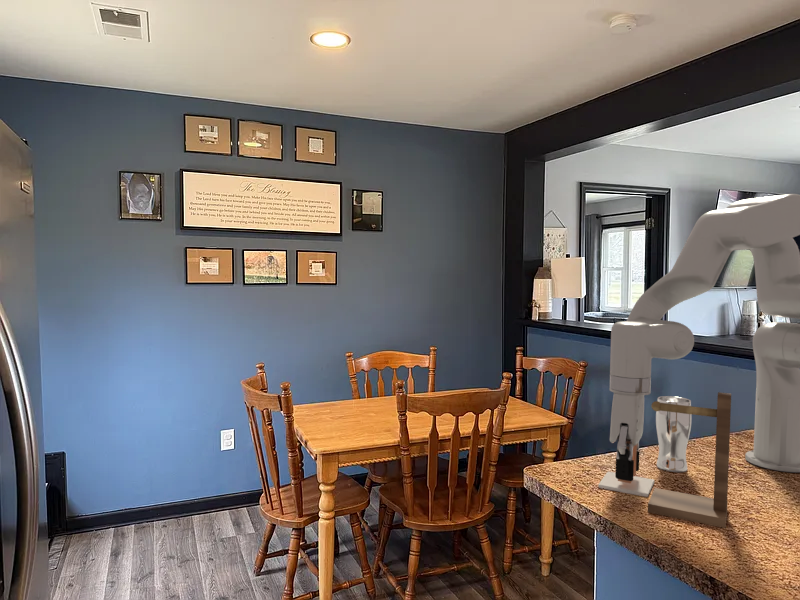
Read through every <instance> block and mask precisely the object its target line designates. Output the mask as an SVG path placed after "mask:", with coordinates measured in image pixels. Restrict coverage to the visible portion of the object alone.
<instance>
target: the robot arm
mask: <svg viewBox="0 0 800 600" xmlns="http://www.w3.org/2000/svg"><path fill="white" fill-rule="evenodd" d="M798 236H800V194H798V193H785V194H777V195H771V196H761V197H754V198H753V197H751V198H746V199H741V200H737V201H735V202H732V203H730V204H729V205H728V206H727V207H726V208H724V209H723V208H722V209H715V210H710V211H708V212H705V213H704V214H702V215H700V217H698V219H697V220H696V222H695V224H694V226H693V227H692V229H691V231H690V234H689V236H688V237H687V238H686V241H685V243H684V245H683V248H682V249H681V251H680V253H679V255H678V257H677V259H676V261H675V262H674V265H673V266H672V268H671V269H670V270H669V272H668V273H666V274H665V275H663V276H662V277H661V278H660V279H658V280H657V281H656V282H654V284H652V285H651V286H650V287H649V288H648V289H646V290H645V291H644V292H643V293H642V294H641V296H639V298H638V299H637V301H636V302H635V304H634V306H633V307H632V309H631V311H630V313H629V315H628V317H627V318H626V321H625V320H624V321H617V322H615V323H613V324H612V326H611V328H610V329H611V330H610V331H611V332H610V355H609V356H610V360H609V363H610V364H609V365H610V366H609V391H610V392H611V393H613V396H612V404H611V405H612V406H611V415H610V429H609V442H610V443H611V444H614V443H615V442H617V447H616V456H615V457H616V458H615V473H616V475H615V477H616V478H617V479H621V480H627V481H633V474H634V460H632V456H633V446H635V445H636V444H637V454H636V472H639V470H640V451H639V449H640V440H641V439H642V437H643V432H644V423H645V422H644V420H645V419H644V418H645V396H649V395H650V394H651V390H652V389H651V385H652V381H651V380H652V377H651V376H652V359H654V358H655V359H664V360H665V359H666V360H678V359H681V358H682V359H683V358H684V357H686V356H687V355H688V354H690V353H691V351H692V350H693V347H695V346H694V345H695V336H694V334H693V331H692V330H691V329H690V328H689V327H688V326H687V325H685V324H683V323H681V322H678V321H673V320H663V317H664V315H666V314H667V312H668V311H669V310H671V309H672V308H674V307H676V306H677V305H679V304H680V303H683V302H686V301H688V300H690V299H694V298H695V297H697V296H700V295H702V294H705V293H706V292H709V291H710V290H712V289H713V288H714V287H715V285H716V283H717V281H718V279H719V277H720V275H721V273H722V271H723V269H724V266H725V265H726V263H727V261H728V259H729V257H730V255H731V253H732V252H734V251H745V250H750V253H751V256H752V258H753V263H754V265H753V266H754V274H755V286H756V287H755V289H756V297H757V299H756V300H757V304H758V308H759V310H760V311H761V312H762V313H764V314H765V315H768V316H772V317H778V318H787V319H788V318H789V319H800V249H799V246H798V244H797V243H796V242H797V241H796V240H795V239H794V238H795V237H798ZM752 337H753V338H752V350H753V356H754V362H755V372H756V373H755V374H756V376H755V377H756V379H755V380H756V381H755V382H756V385H755V386H756V387H755V388H756V389H755V405H754V406H755V409H754V411H755V412H754V429H753V431H754V434H753V450H750V451H749V450H748V451H746V452H745V454H744V455H745V457H744V458H745V460H746V461H747V462H749V463H751V464H752V465H755V466H757V467H761V468H764V469H768V470H772V471H779V472H787V473H800V322H799V323H797V322H786V321H773V322H767V323H765V324H762V325H760V326H759V327H758V328H757V329H756V330H755V332H754V334H753V336H752ZM627 441H631V444H628V443H626V442H627ZM626 447H629V451H628V449H626Z"/></svg>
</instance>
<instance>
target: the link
mask: <svg viewBox="0 0 800 600" xmlns="http://www.w3.org/2000/svg"><path fill="white" fill-rule="evenodd" d="M626 443H628V444H631V441H627V442H626ZM626 449H628V451H629V447H626ZM636 454H637V444H636V445H635V446H633V456H632V460H634V474H633V476H637V471H636ZM618 481H620V482H626V483H631V482H632V481H627V480H621V479H618Z"/></svg>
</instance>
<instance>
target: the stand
mask: <svg viewBox="0 0 800 600" xmlns="http://www.w3.org/2000/svg"><path fill="white" fill-rule="evenodd" d="M716 399H717V400H716V401H717V402H716V408H708V407H700V406H699V407H698V406H692V405H691V406H684V405H676V404H667V403H660V402H658V400H654V401H653V402H652V403H651V409H652V410H653V411H654V412H656V411H668V412H676V413H684V414H691V416H692V415H693V416H702V417H709V418H710V417H711V418H716V426H715V427H716V429H715V430H716V432H715V433H716V434H715V454H714V455H715V458H714V481H713V482H714V484H713V487H714V488H713V498H712V497H707V496H700V495H696V494H690V493H687V492H686V493H684V492H681V491H680V492H679V491H675V490H674V491H673V490H669V489H664V488H660V487H659V488H658V487H654V489H653V492H652V493H651V495H650V498H649V500H648V503H647V513H651V514H654V515H659V516H665V517H671V518H675V519H680V520H685V521H689V522H695V523H700V524H704V525H709V526H714V527H720V528H724V529H726V527H727V517H728V516H727V515H728V495H729V494H728V491H729V489H728V488H729V467H730V466H729V465H730V464H729V463H730V461H729V460H730V437H731V411H732V393H731V392H728V393H727V392H720V391H719V392H717V398H716Z"/></svg>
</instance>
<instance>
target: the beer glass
mask: <svg viewBox="0 0 800 600" xmlns="http://www.w3.org/2000/svg"><path fill="white" fill-rule="evenodd" d="M657 401H658V402H660V403H667V404H676V405H684V406H692V400H691V399H689V398H686V397H681V396H680V397H679V396H671V395H667V396H666V395H665V396H663V395H662V396H658V397H657ZM655 426H656V434H657V435H656V436H657V441H658V456H657V461H656V467H657V468H658V469H659V470H663V471H665V470H666V471H665V472H671V473H672V472H673V473H685V472H687V471H688V462H687V448H688V447H687V446H688V443H689V439H690V433H691V429H692V414H684V413H676V412H668V411H655Z"/></svg>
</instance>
